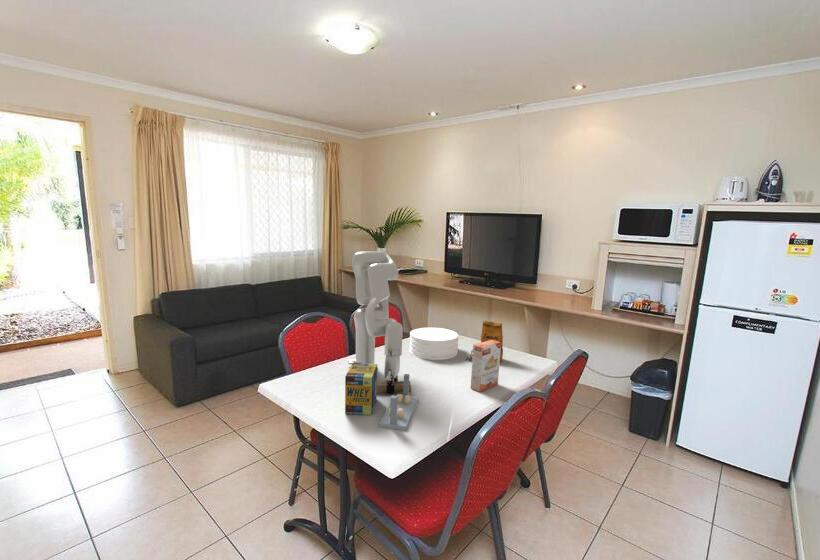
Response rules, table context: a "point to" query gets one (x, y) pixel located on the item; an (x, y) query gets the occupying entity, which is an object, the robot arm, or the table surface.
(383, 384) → the board
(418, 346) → the plate stack
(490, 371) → the cracker box
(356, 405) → the protein box
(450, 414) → the table surface
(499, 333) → the coffee package
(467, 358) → the house of cards
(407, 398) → the stand
